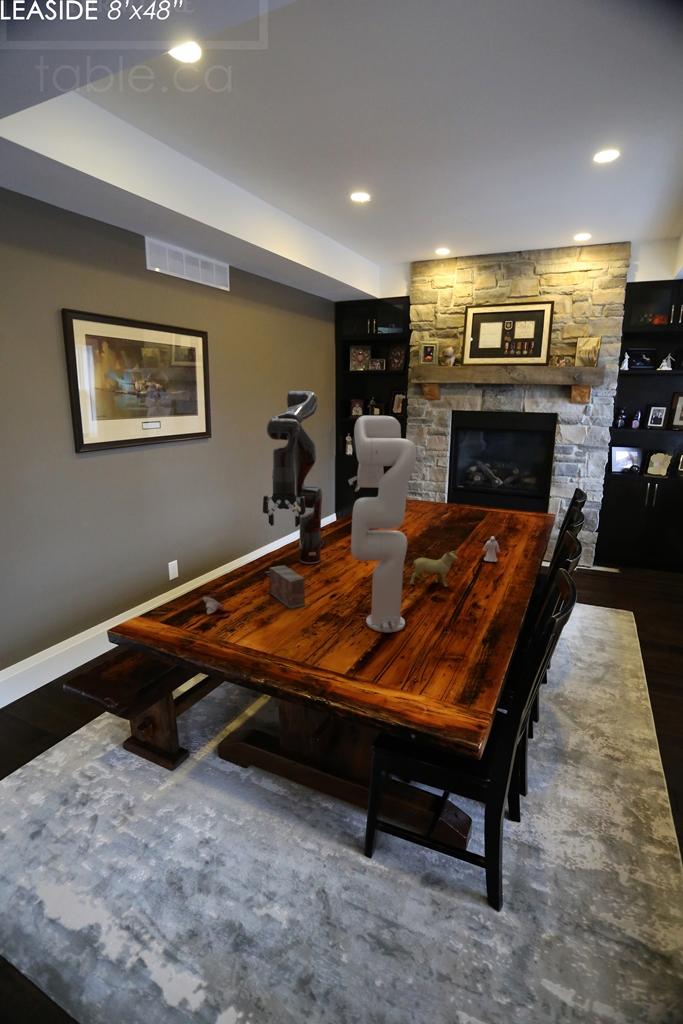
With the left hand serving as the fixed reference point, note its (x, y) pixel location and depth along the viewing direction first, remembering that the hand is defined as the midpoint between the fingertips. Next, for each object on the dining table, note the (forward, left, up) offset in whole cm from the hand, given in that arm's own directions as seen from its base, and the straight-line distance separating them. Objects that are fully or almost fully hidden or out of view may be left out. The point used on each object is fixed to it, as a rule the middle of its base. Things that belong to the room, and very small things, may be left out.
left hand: (284, 525), depth 171 cm
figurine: (-60, +80, -28) cm, 104 cm away
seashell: (+12, -22, -28) cm, 38 cm away
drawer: (-7, -4, -27) cm, 29 cm away
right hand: (-33, +26, +3) cm, 42 cm away
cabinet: (-3, 0, -28) cm, 28 cm away
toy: (-26, +53, -28) cm, 65 cm away
